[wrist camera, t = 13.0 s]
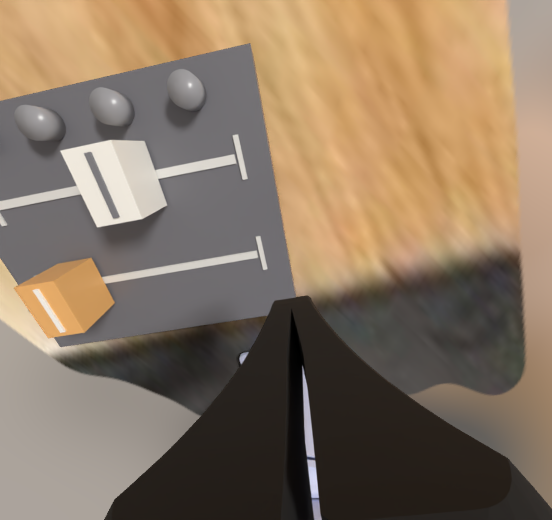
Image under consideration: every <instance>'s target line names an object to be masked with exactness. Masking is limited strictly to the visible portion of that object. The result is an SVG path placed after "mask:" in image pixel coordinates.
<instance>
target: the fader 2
mask: <svg viewBox="0 0 552 520" xmlns="http://www.w3.org/2000/svg"><path fill="white" fill-rule="evenodd" d="M14 289H15V291H16V292H17V294H18V295H19V296H20V298H21V299H22V301H23V302H24V304H25V305H26V307H27V308H28V310H29V311H30V312H31V314H32V315H33V317H34V318H35V320H36V321H37V323H38V324H39V326H40V327H41V328H42V330H43V331H44V333H45V334H46V336H47V337H48V338H53V337H59V336H66V335H72V334H78V333H85V332H86V331H87V330H88V329H89V328H90V327H91V326H92V325H93V324H94V323H95V322H96V321H97V320H98V319H99V318H100V317H101V316H102V315H103V314H104V313H105V312H106V311H107V310H108V309H109V308H110V307H111V306H112V305H113V304H114V303H115V302H114V300H113V298H112V296H111V294H110V292H109V291H108V289H107V287H106V285H105V283H104V281H103V279H102V277H101V275H100V273H99V271H98V269H97V267H96V265H95V264H94V262H93V260H92V258H87V259H81V260H76V261H70V262H64V263H59V264H56V265H55V266H53V267H51V268H49V269H47V270H45V271H44V272H42V273H40V274H38V275H36V276H34V277H33V278H31V279H29V280H27V281H25V282H23V283H22V284H20V285H18V286H16V287H14Z"/></svg>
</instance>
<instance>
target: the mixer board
mask: <svg viewBox="0 0 552 520" xmlns="http://www.w3.org/2000/svg"><path fill="white" fill-rule="evenodd" d="M108 140H129V141H145V144H146V147H147V149H148V152H149V155H150V158H151V161H152V164H153V166H154V169H155V172H156V175H157V178H158V180H159V183H160V186H161V189H162V192H163V194H164V197H165V200H166V203H167V206H165V207H163V208H161V209H160V210H158V211H156V212H154V213H152V214H151V215H149V216H147V217H145V218H143V219H140V220H134V221H129V222H124V223H118V224H113V225H108V226H102V227H97V226H96V224H95V222H94V220H93V218H92V216H91V214H90V212H89V210H88V207H87V205H86V203H85V201H84V199H83V197H82V195H81V193H80V191H79V189H78V187H77V185H76V183H75V181H74V179H73V176H72V174H71V172H70V170H69V168H68V166H67V164H66V162H65V160H64V158H63V156H62V154H61V152H60V151H61V150H65V149H70V148H75V147H80V146H84V145H89V144H94V143H98V142H103V141H108ZM0 258H1V260H2V261H3V263H4V264H5V266H6V267H7V269H8V270H9V272H10V273H11V275H12V276H13V278H14V279H15V281H16V282H17V283H18V285H20V284H22V283H23V282H25V281H27V280H29V279H31V278H33V277H34V276H36V275H38V274H40V273H42V272H44V271H45V270H47V269H49V268H51V267H53V266H55V265H56V264H59V263H64V262H70V261H76V260H81V259H87V258H92V260H93V262H94V264H95V265H96V267H97V269H98V271H99V273H100V275H101V277H102V279H103V281H104V283H105V285H106V287H107V289H108V291H109V292H110V294H111V296H112V298H113V300H114V302H115V303H114V304H113V305H112V306H111V307H110V308H109V309H108V310H107V311H106V312H105V313H104V314H103V315H102V316H101V317H100V318H99V319H98V320H97V321H96V322H95V323H94V324H93V325H92V326H91V327H90V328H89V329H88V330H87V331H86V332H85V333H78V334H72V335H66V336H59V337H54V338H55V340H56V341H57V343H58V344H59V346H60V347H64V346H71V345H78V344H84V343H91V342H97V341H104V340H110V339H117V338H123V337H130V336H136V335H143V334H149V333H156V332H162V331H169V330H175V329H182V328H188V327H195V326H201V325H208V324H214V323H221V322H227V321H234V320H240V319H247V318H253V317H260V316H266V315H268V314H269V312H270V309H271V307H272V304H273V302H274V301H275V300H282V299H288V298H295V297H296V293H295V288H294V282H293V276H292V271H291V265H290V260H289V254H288V248H287V243H286V237H285V231H284V226H283V220H282V215H281V209H280V203H279V198H278V192H277V186H276V181H275V175H274V170H273V164H272V158H271V153H270V147H269V141H268V136H267V130H266V124H265V119H264V113H263V108H262V102H261V96H260V91H259V85H258V79H257V74H256V68H255V63H254V57H253V53H252V49H251V45H250V43H249V44H245V45H241V46H236V47H232V48H228V49H223V50H219V51H215V52H210V53H206V54H202V55H197V56H193V57H189V58H184V59H180V60H176V61H171V62H167V63H163V64H159V65H154V66H150V67H146V68H141V69H137V70H133V71H128V72H124V73H120V74H115V75H111V76H107V77H102V78H98V79H94V80H89V81H85V82H81V83H76V84H72V85H68V86H63V87H59V88H55V89H51V90H46V91H42V92H38V93H33V94H29V95H25V96H20V97H16V98H12V99H7V100H3V101H0Z"/></svg>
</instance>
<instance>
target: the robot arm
mask: <svg viewBox="0 0 552 520" xmlns="http://www.w3.org/2000/svg"><path fill="white" fill-rule="evenodd" d="M239 360H240V363H241V366H240V367H239V369H238V370H237V371H236V373H235V374H234V376H233V377H232V378H231V380H230V381H229V383H228V384H227V385H226V387H225V388H224V389H223V390H222V392H221V393H220V394H219V395H218V397H217V398H216V399H215V400H214V402H213V403H212V404H211V405H210V406H209V408H208V409H207V410H206V411H205V412H204V413H203V414H202V416H201V417H200V418H199V419H198V420H197V421H196V422H195V423H194V424H193V425H192V427H190V428H189V430H188V431H187V432H186V433H185V434H184V435H183V436H182V437H181V438H180V439H179V440H178V441H177V442H176V443H175V444H174V445H173V446H172V447H171V448H170V449H169V450H168V451H167V452H166V453H165V454H164V455H163V456H162V457H161V458H160V459H159V460H158V461H157V462H156V463H154V464H153V465H152V466H151V467H150V468H149V469H148V470H147V471H146V472H145V473H143V474H142V475H141V476H140V477H139V478H138V479H137V480H136V481H135V482H134V483H133V484H131V485H130V486H129V487H128V488H127V489H126V490H125V491H124V492H123V493H121V494H120V495H119V496H118V497H117V498H116V499H115V500H114V502H113V504H112V505H111V508H110V509H109V511H108V513H107V516H106V517H105V519H104V520H552V509H551V508H550V506H549V505H548V504H547V503H546V501H545V500H544V499H543V498H542V497H541V496H540V494H539V493H538V492H537V491H536V490H535V488H534V487H533V486H532V485H531V484H530V483H529V482H528V481H527V480H526V478H525V477H524V476H523V475H522V474H521V473H520V472H519V470H518V469H517V468H516V467H515V466H514V465H513V464H512V463H511V461H510V460H509V459H508V458H506V457H505V456H503V455H501V454H500V453H498V452H496V451H494V450H493V449H491V448H489V447H488V446H486V445H484V444H482V443H481V442H479V441H477V440H475V439H474V438H472V437H471V436H469V435H467V434H465V433H464V432H462V431H460V430H459V429H457V428H455V427H453V426H452V425H450V424H449V423H447V422H446V421H444V420H443V419H441V418H440V417H438V416H436V415H435V414H434V413H432V412H430V411H429V410H427V409H426V408H424V407H423V406H421V405H420V404H419V403H417V402H416V401H414V400H413V399H412V398H410V397H409V396H408V395H406V394H405V393H404V392H402V391H401V390H399V389H398V388H397V387H395V386H394V385H393V384H391V383H390V382H388V381H387V380H386V379H385V378H383V377H382V376H381V375H380V374H379V373H377V372H376V371H375V370H374V369H372V368H371V367H370V366H369V365H368V364H367V363H366V362H364V361H363V360H362V359H361V358H360V357H359V356H358V355H357V354H356V353H355V352H354V351H353V350H352V349H351V348H349V347H348V345H347V344H346V343H345V342H344V341H343V340H342V339H341V338H340V337H339V336H338V335H337V334H336V333H335V332H334V330H333V329H332V328H331V327H330V326H329V324H328V323H327V322H326V321H325V319H324V318H323V317H322V316H321V314H320V313H319V311H318V310H317V308H316V307H315V305H314V304H313V302H312V300H311V298H310V297H309V296H301V297H295V298H288V299H282V300H275V301H274V302H273V304H272V307H271V309H270V312H269V314H268V317H267V319H266V321H265V323H264V325H263V327H262V329H261V331H260V333H259V335H258V337H257V339H256V341H255V343H254V344H253V346H252V348H251V349H250V351H249V352H245V353H242V354H241V355H240V358H239Z"/></svg>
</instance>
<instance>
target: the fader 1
mask: <svg viewBox="0 0 552 520" xmlns="http://www.w3.org/2000/svg"><path fill="white" fill-rule="evenodd" d="M60 152H61V154H62V156H63V158H64V160H65V162H66V164H67V166H68V168H69V170H70V172H71V174H72V176H73V179H74V181H75V183H76V185H77V187H78V189H79V191H80V193H81V195H82V197H83V199H84V201H85V203H86V205H87V207H88V210H89V212H90V214H91V216H92V218H93V220H94V222H95V224H96V226H97V227H102V226H108V225H113V224H118V223H124V222H129V221H134V220H140V219H143V218H145V217H147V216H149V215H151V214H152V213H154V212H156V211H158V210H160V209H161V208H163V207H165V206H167V203H166V200H165V197H164V194H163V192H162V189H161V186H160V183H159V180H158V178H157V175H156V172H155V169H154V166H153V164H152V161H151V158H150V155H149V152H148V149H147V147H146V144H145V141H129V140H108V141H103V142H98V143H94V144H89V145H84V146H80V147H75V148H70V149H65V150H61V151H60Z"/></svg>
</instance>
